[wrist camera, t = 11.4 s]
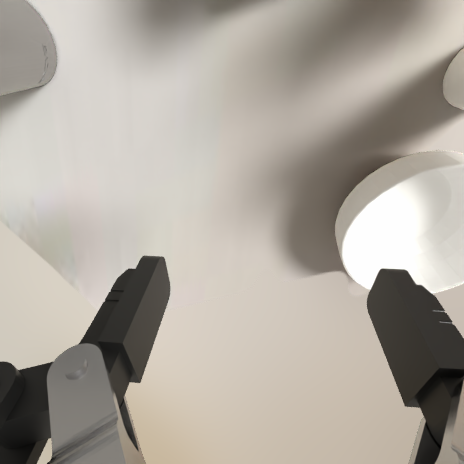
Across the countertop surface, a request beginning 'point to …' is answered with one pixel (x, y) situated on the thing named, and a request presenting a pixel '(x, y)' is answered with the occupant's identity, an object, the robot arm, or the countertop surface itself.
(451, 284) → the bowl
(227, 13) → the countertop surface
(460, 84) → the cylindrical container
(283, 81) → the countertop surface
